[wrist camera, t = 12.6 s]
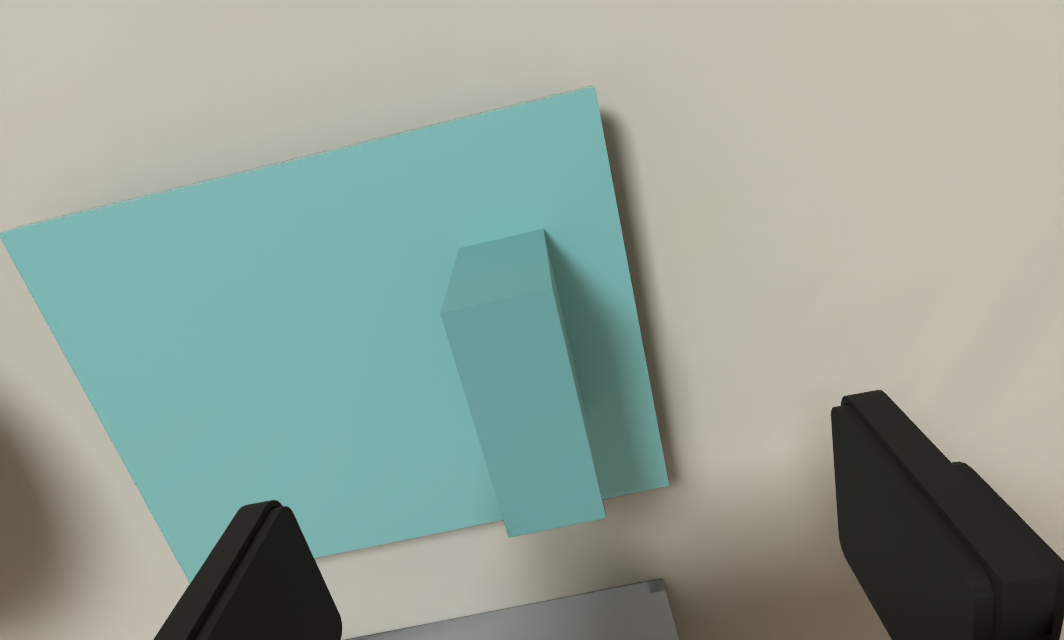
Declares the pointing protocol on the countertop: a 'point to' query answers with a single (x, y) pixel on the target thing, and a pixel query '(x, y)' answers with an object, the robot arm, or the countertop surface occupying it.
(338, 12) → the countertop surface
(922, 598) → the robot arm
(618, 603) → the tub
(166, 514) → the lid
